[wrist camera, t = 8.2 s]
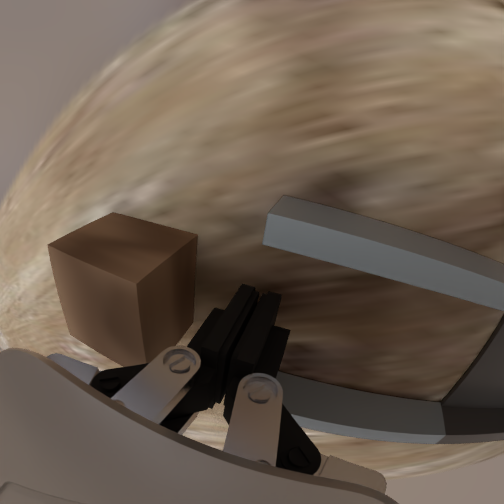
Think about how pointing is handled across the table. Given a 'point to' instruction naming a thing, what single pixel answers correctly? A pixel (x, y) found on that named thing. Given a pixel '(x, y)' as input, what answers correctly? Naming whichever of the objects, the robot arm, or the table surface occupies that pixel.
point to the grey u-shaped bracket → (414, 273)
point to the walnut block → (126, 286)
